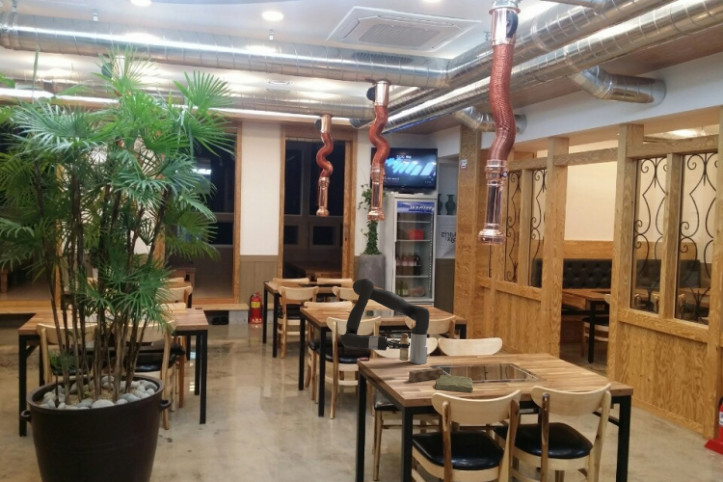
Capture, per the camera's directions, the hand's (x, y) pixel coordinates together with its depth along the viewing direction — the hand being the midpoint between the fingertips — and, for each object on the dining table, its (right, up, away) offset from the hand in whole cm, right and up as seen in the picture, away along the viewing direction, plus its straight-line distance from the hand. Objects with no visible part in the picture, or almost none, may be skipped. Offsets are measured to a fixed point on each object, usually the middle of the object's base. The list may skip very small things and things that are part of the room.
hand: (409, 345), depth 338 cm
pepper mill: (-3, -8, +1) cm, 8 cm away
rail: (+8, -17, -4) cm, 20 cm away
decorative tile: (+22, -19, -14) cm, 32 cm away
